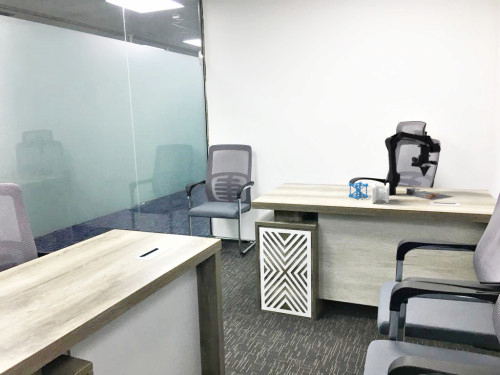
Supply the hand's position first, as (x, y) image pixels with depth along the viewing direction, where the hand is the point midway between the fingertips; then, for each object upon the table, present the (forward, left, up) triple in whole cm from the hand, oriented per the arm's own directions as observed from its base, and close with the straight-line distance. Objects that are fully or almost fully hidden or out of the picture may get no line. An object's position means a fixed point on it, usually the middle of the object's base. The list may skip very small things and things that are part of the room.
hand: (423, 176), depth 282 cm
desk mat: (-6, -10, -12) cm, 16 cm away
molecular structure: (-46, +13, -12) cm, 49 cm away
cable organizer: (-44, -6, -12) cm, 46 cm away
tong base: (-12, -9, -11) cm, 19 cm away
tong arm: (-10, -11, -11) cm, 19 cm away
